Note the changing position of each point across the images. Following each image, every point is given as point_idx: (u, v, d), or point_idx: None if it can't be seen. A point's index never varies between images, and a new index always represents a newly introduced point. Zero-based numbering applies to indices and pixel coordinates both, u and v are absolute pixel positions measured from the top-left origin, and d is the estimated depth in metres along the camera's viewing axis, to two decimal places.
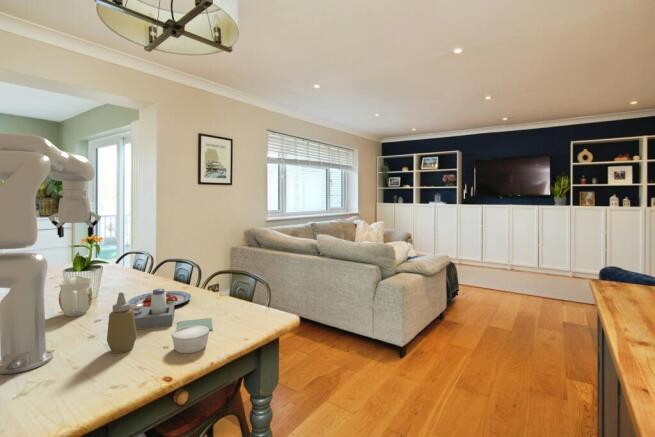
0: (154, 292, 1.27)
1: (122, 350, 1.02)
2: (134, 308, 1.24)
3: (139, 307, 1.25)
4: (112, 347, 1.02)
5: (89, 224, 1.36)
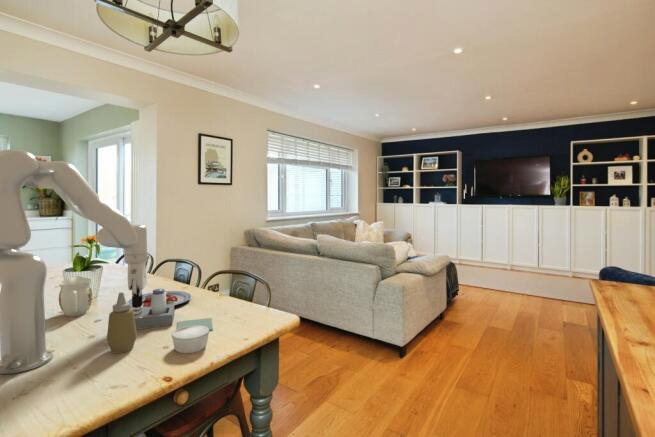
0: (154, 292, 1.27)
1: (122, 350, 1.02)
2: (134, 309, 1.24)
3: (139, 308, 1.25)
4: (112, 347, 1.02)
5: (141, 292, 1.27)
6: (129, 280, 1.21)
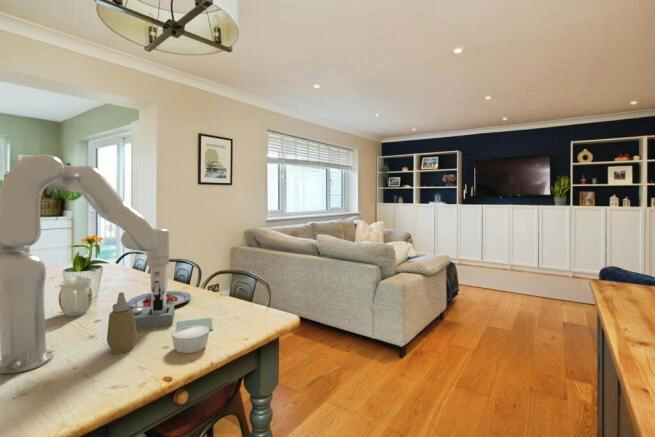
0: None
1: (122, 350, 1.02)
2: (134, 312, 1.24)
3: (139, 311, 1.25)
4: (112, 347, 1.02)
5: None
6: (152, 282, 1.23)
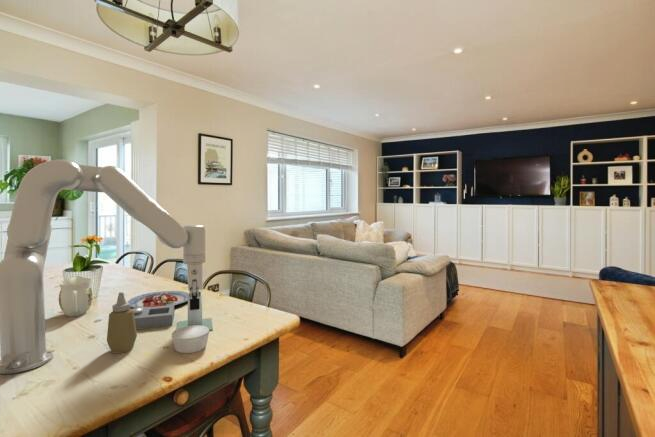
0: None
1: (122, 350, 1.02)
2: (134, 312, 1.24)
3: (139, 311, 1.25)
4: (112, 347, 1.02)
5: (198, 289, 1.28)
6: (189, 281, 1.18)
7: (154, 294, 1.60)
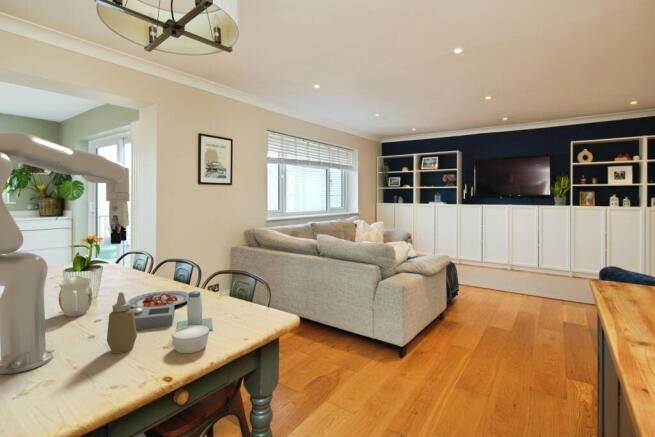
0: (190, 295, 1.22)
1: (122, 350, 1.02)
2: (134, 312, 1.24)
3: (139, 311, 1.25)
4: (112, 347, 1.02)
5: (125, 227, 1.33)
6: (110, 217, 1.23)
7: (154, 294, 1.60)
